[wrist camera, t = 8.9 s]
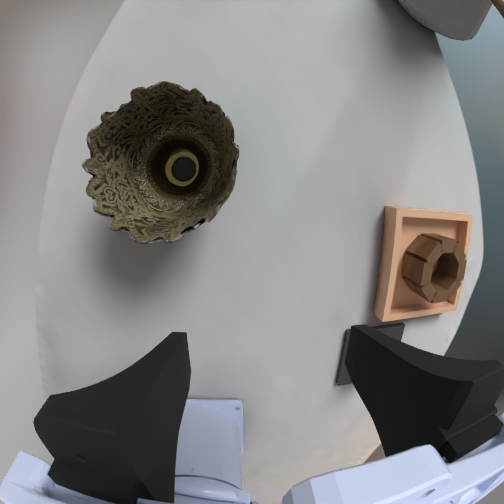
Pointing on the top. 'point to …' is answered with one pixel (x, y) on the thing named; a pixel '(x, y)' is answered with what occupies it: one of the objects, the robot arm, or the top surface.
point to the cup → (161, 163)
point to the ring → (421, 264)
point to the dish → (394, 246)
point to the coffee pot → (452, 15)
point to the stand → (343, 376)
